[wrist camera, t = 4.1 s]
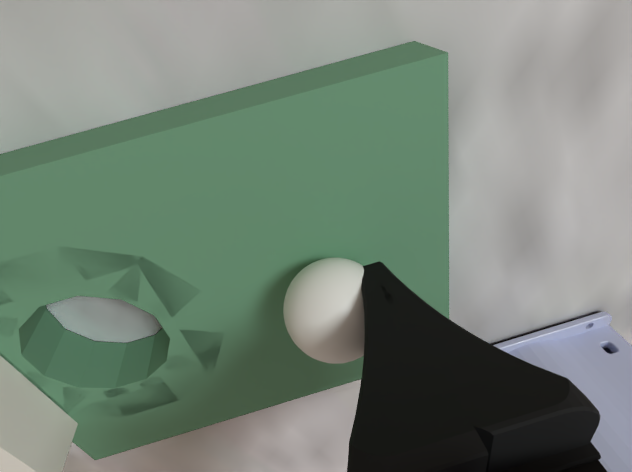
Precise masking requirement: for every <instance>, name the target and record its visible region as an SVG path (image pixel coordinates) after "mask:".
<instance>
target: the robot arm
mask: <svg viewBox="0 0 632 472" xmlns="http://www.w3.org/2000/svg"><path fill="white" fill-rule="evenodd" d="M362 267H363V268H364V275H363V277H362V285H361V290H362V296H363V306H364V323H365V342H364V360H363V370H362V379H361V387H360V393H359V398H358V404H357V410H356V415H355V420H354V424H353V428H352V433H351V437H350V441H349V455H348V468H347V472H632V345H630V344H629V343H628V342H627V341H626V340H625V339H624V338H623V337H622V336H621V335H620V334H618V333H617V332H616V331H615V330H614V329H613V328H612V327H611V326H609V325H610V322H611V319H612V316H611V315H610V314H609V313H607V312H605V311H604V312H599V313H596V314H593V315H589V316H586V317H583V318H580V319H576V320H573V321H570V322H567V323H563V324H560V325H557V326H554V327H550V328H547V329H544V330H541V331H537V332H534V333H531V334H527V335H524V336H521V337H518V338H514V339H511V340H508V341H505V342H501V343H498V344H495V345H491V344H489V343H487V342H485V341H483V340H482V339H480V338H478V337H477V336H475V335H473V334H471V333H470V332H468V331H466V330H465V329H463V328H462V327H460V326H458V325H457V324H455V323H454V322H452V321H451V320H449V319H448V318H446V317H445V316H444V315H442V314H441V313H439V312H438V311H437V310H435V309H434V308H433V307H431V306H430V305H429V304H427V303H426V302H425V301H424V300H422V299H421V298H420V297H419V296H418V295H416V294H415V293H414V292H413V291H412V290H410V289H409V288H408V287H407V286H406V285H405V284H404V283H403V282H401V281H400V280H399V279H398V278H397V277H396V276H395V275H394V274H393V273H392V272H391V271H390V270H389V269H388V268H387V267H386V266H385V265H384V264H383V263H382V262H380V261H379V262H375V263H372V264H368V265H365V266H362Z"/></svg>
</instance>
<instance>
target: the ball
mask: <svg viewBox="0 0 632 472" xmlns="http://www.w3.org/2000/svg"><path fill="white" fill-rule="evenodd" d="M362 266H363V265H361V264H359V263H357V262H355V261H352V260H349V259H345V258H335V257H334V258H325V259H321V260H318V261H315V262H313V263H311V264H309V265H308V266H306V267H305V268H303V269H302V270H301V271H300V272H299V273H298V274H297V275H296V276H295V278H294V279H293V280H292V282H291V284H290V285H289V287H288V289H287V292H286V295H285V299H284V307H283V314H284V321H285V325H286V328H287V331H288V333H289V335H290V337H291V339H292V340H293V342H294V343H295V344H296V345H297V347H298V348H299V349H301V350H302V351H303V352H304V353H305V354H307V355H308V356H310V357H312V358H313V359H316V360H318V361H322V362H325V363H332V364H339V363H347V362H350V361H354V360H356V359H358V358H360V357H362V356H364V342H365V323H364V306H363V296H362V290H361V285H362V277H363V275H364V268H363V267H362Z"/></svg>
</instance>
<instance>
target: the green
mask: <svg viewBox="0 0 632 472" xmlns="http://www.w3.org/2000/svg"><path fill="white" fill-rule="evenodd" d="M334 257H335V258H345V259H349V260H352V261H355V262H357V263H359V264H361V265H363V266H365V265H368V264H372V263H375V262H379V261H380V262H382V263H383V264H384V265H385V266H386V267H387V268H388V269H389V270H390V271H391V272H392V273H393V274H394V275H395V276H396V277H397V278H398V279H399V280H400V281H401V282H403V283H404V284H405V285H406V286H407V287H408V288H409V289H410V290H412V291H413V292H414V293H415V294H416V295H418V296H419V297H420V298H421V299H422V300H424V301H425V302H426V303H427V304H429V305H430V306H431V307H433V308H434V309H435V310H437V311H438V312H439V313H441V314H442V315H444V316H445V317H446V318H448V319H449V168H448V52H445V51H442V50H439V49H436V48H433V47H430V46H427V45H424V44H421V43H418V42H416V41H413V42H409V43H405V44H402V45H398V46H394V47H391V48H387V49H384V50H380V51H376V52H373V53H369V54H365V55H362V56H358V57H354V58H351V59H347V60H343V61H340V62H336V63H332V64H329V65H325V66H321V67H318V68H314V69H310V70H307V71H303V72H299V73H296V74H292V75H288V76H285V77H281V78H277V79H274V80H270V81H267V82H263V83H259V84H256V85H252V86H248V87H245V88H241V89H237V90H234V91H230V92H226V93H223V94H219V95H215V96H212V97H208V98H204V99H201V100H197V101H193V102H190V103H186V104H182V105H179V106H175V107H171V108H168V109H164V110H160V111H157V112H153V113H149V114H146V115H142V116H139V117H135V118H131V119H128V120H124V121H120V122H117V123H113V124H109V125H106V126H102V127H98V128H95V129H91V130H87V131H84V132H80V133H76V134H73V135H69V136H65V137H62V138H58V139H54V140H51V141H47V142H43V143H40V144H36V145H32V146H29V147H25V148H22V149H18V150H14V151H11V152H7V153H3V154H0V472H62V470H63V467H64V464H65V461H66V458H67V455H68V452H69V449H70V446H71V443H72V442H73V443H75V444H76V445H77V446H78V447H79V448H81V449H82V450H83V451H84V452H86V453H87V454H88V455H89V456H91V457H92V458H93V459H94V460H98V459H101V458H104V457H107V456H111V455H114V454H117V453H120V452H124V451H127V450H130V449H134V448H137V447H140V446H143V445H147V444H150V443H153V442H156V441H160V440H163V439H166V438H170V437H173V436H176V435H179V434H183V433H186V432H189V431H192V430H196V429H199V428H202V427H206V426H209V425H212V424H215V423H219V422H222V421H225V420H228V419H232V418H235V417H238V416H242V415H245V414H248V413H251V412H255V411H258V410H261V409H264V408H268V407H271V406H274V405H278V404H281V403H284V402H287V401H291V400H294V399H297V398H300V397H304V396H307V395H310V394H314V393H317V392H320V391H323V390H327V389H330V388H333V387H336V386H340V385H343V384H346V383H350V382H353V381H356V380H359V379H362V370H363V360H364V356H362V357H360V358H358V359H356V360H354V361H350V362H347V363H339V364H332V363H325V362H322V361H318V360H316V359H313V358H312V357H310V356H308V355H307V354H305V353H304V352H303V351H302V350H301V349H299V348H298V347H297V345H296V344H295V343H294V342H293V340H292V339H291V337H290V335H289V333H288V331H287V328H286V325H285V321H284V314H283V307H284V299H285V295H286V292H287V289H288V287H289V285H290V284H291V282H292V280H293V279H294V278H295V276H296V275H297V274H298V273H299V272H300V271H301V270H302V269H303V268H305V267H306V266H308V265H309V264H311V263H313V262H315V261H318V260H321V259H325V258H334ZM75 296H88V297H100V298H111V299H121V300H123V301H125V302H127V303H130V304H132V305H134V306H136V307H138V308H140V309H142V310H144V311H146V312H148V313H150V314H152V315H154V316H155V317H156V318H157V320H158V321H159V323H160V324H161V326H162V327H163V328H162V329H161V330H160V331H159V332H158V333H157V334H156V335H153V336H150V337H147V338H143V339H140V340H136V341H133V342H130V343H114V342H96V341H93V340H90V339H88V338H85V337H83V336H80V335H78V334H76V333H73V332H71V331H68V330H66V329H65V328H64V327H63V326H62V325H61V324H60V323H59V322H58V321H57V320H56V318H55V317H54V316H53V315H52V314H51V313H50V312H49V311H48V310H47V309H46V305H47V304H51V303H54V302H58V301H61V300H64V299H68V298H71V297H75Z"/></svg>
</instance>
